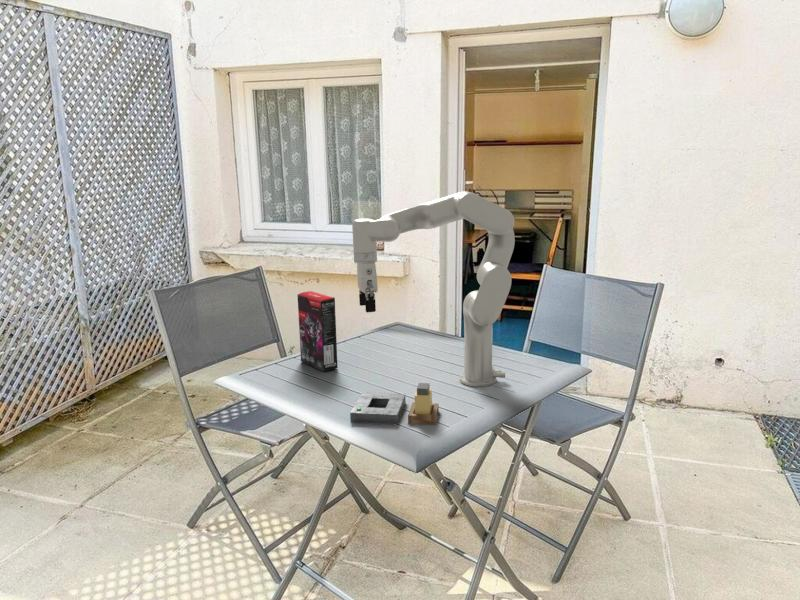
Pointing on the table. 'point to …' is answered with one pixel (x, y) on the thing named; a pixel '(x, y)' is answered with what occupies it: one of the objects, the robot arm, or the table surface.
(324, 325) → the graphics card box
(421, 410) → the plug
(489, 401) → the table surface
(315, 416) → the table surface
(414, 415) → the frame
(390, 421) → the port
